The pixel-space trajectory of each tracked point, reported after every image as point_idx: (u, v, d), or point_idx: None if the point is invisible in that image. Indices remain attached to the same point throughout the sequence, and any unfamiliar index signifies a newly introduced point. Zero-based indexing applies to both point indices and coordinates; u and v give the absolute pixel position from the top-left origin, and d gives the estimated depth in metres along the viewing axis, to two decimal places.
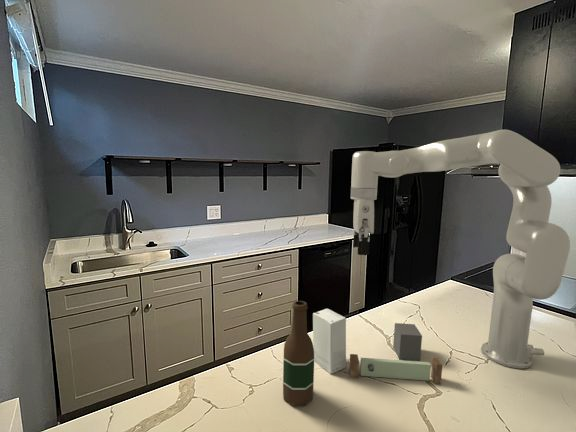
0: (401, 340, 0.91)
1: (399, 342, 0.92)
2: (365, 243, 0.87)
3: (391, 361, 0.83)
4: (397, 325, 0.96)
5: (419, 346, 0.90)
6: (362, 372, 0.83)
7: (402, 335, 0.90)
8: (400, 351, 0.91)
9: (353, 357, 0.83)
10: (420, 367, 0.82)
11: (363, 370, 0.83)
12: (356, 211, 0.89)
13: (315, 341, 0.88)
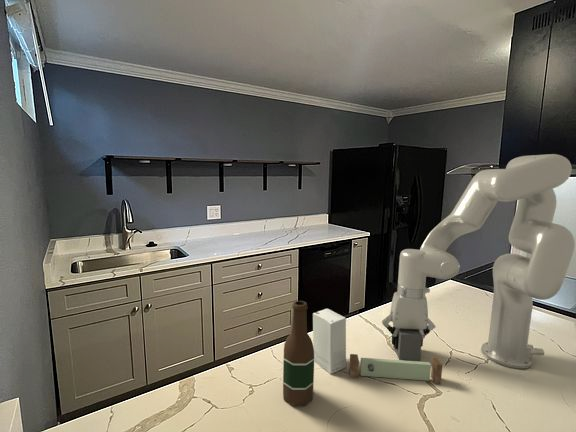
0: (401, 340, 0.90)
1: (399, 342, 0.92)
2: None
3: (391, 361, 0.83)
4: None
5: (419, 346, 0.90)
6: (362, 372, 0.83)
7: (402, 335, 0.90)
8: (400, 351, 0.91)
9: (353, 357, 0.83)
10: (420, 367, 0.82)
11: (363, 370, 0.83)
12: (423, 310, 0.90)
13: (315, 341, 0.88)
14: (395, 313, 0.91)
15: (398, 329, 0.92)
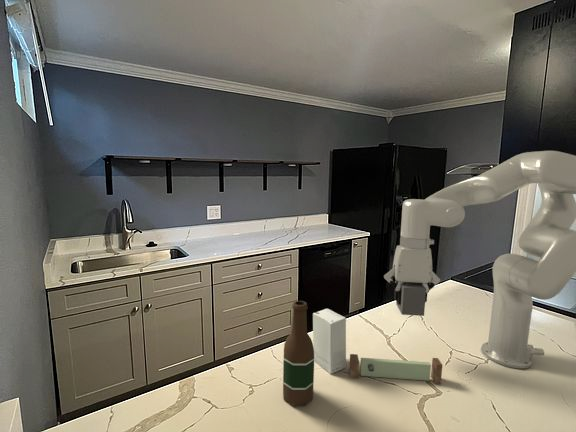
0: (404, 293, 0.86)
1: (402, 296, 0.87)
2: None
3: (391, 361, 0.83)
4: None
5: (423, 300, 0.86)
6: (362, 372, 0.83)
7: (405, 288, 0.86)
8: (403, 305, 0.87)
9: (353, 357, 0.83)
10: (420, 367, 0.82)
11: (363, 370, 0.83)
12: (427, 262, 0.86)
13: (315, 341, 0.88)
14: (397, 266, 0.87)
15: (401, 283, 0.88)
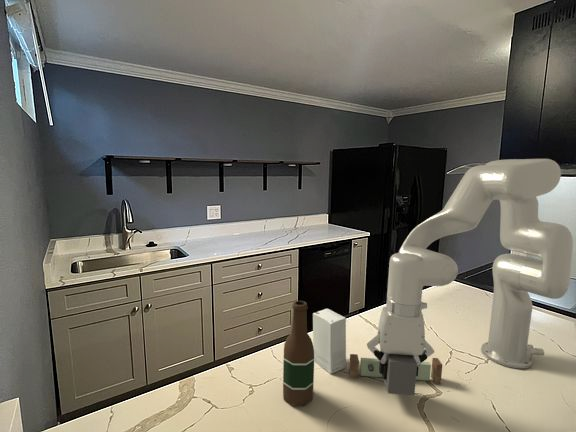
0: (390, 369, 0.71)
1: (388, 371, 0.72)
2: None
3: None
4: None
5: (413, 376, 0.71)
6: (362, 372, 0.83)
7: (392, 362, 0.71)
8: (389, 382, 0.72)
9: (353, 357, 0.83)
10: (420, 367, 0.82)
11: (363, 370, 0.83)
12: (418, 331, 0.70)
13: (315, 341, 0.88)
14: (383, 334, 0.72)
15: (387, 354, 0.73)
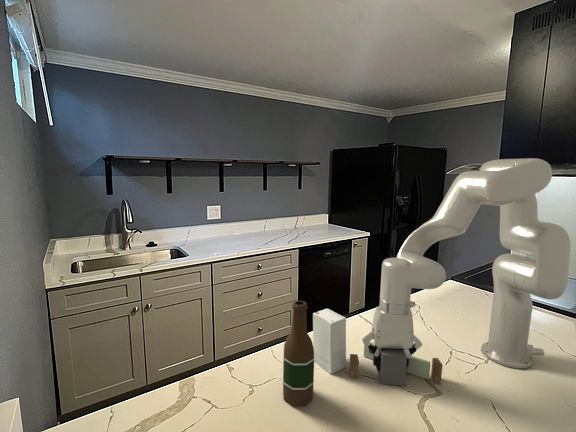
0: (383, 361, 0.80)
1: (381, 363, 0.81)
2: None
3: None
4: None
5: (404, 368, 0.79)
6: (365, 353, 0.92)
7: (384, 355, 0.79)
8: (382, 374, 0.80)
9: (353, 357, 0.83)
10: (418, 363, 0.83)
11: (365, 351, 0.92)
12: (408, 327, 0.80)
13: (315, 341, 0.88)
14: (377, 331, 0.80)
15: (380, 348, 0.82)
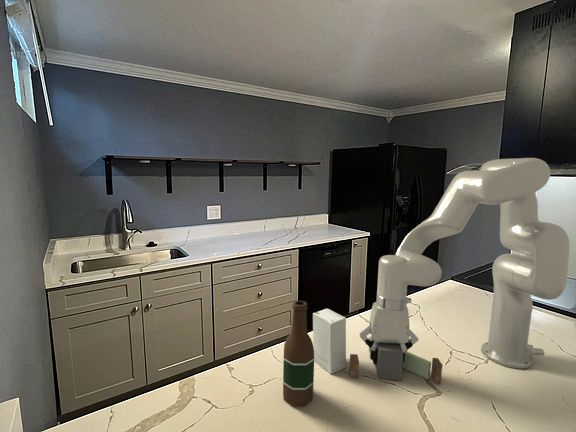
0: (380, 356, 0.82)
1: (378, 358, 0.83)
2: None
3: None
4: None
5: (400, 363, 0.81)
6: (369, 348, 0.95)
7: (381, 350, 0.82)
8: (379, 368, 0.82)
9: (353, 357, 0.83)
10: (419, 362, 0.84)
11: None
12: (404, 322, 0.82)
13: (315, 341, 0.88)
14: (374, 326, 0.83)
15: (377, 343, 0.84)
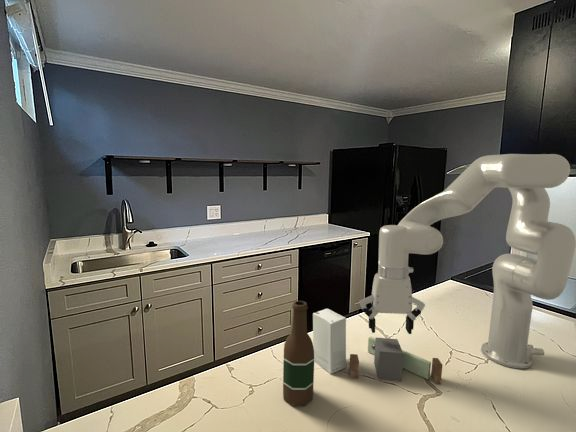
0: (380, 357, 0.82)
1: (378, 359, 0.83)
2: None
3: None
4: (378, 340, 0.87)
5: (400, 364, 0.81)
6: (369, 349, 0.94)
7: (381, 352, 0.81)
8: (379, 369, 0.82)
9: (353, 357, 0.83)
10: (419, 362, 0.84)
11: (369, 347, 0.94)
12: (406, 292, 0.81)
13: (315, 341, 0.88)
14: (376, 296, 0.82)
15: (376, 312, 0.84)
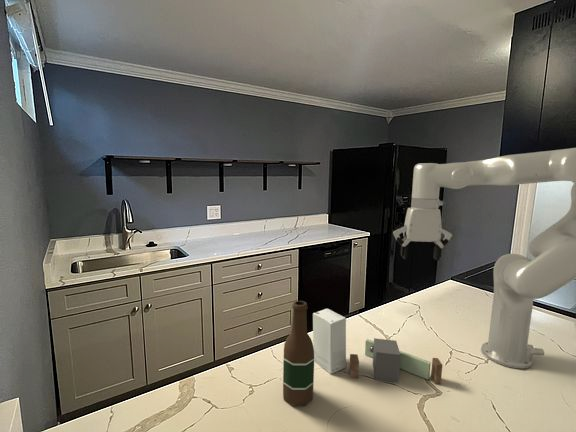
0: (377, 358, 0.81)
1: (375, 360, 0.82)
2: None
3: None
4: (376, 341, 0.86)
5: (397, 366, 0.81)
6: (366, 351, 0.93)
7: (378, 353, 0.81)
8: (376, 370, 0.82)
9: (353, 357, 0.83)
10: (418, 363, 0.83)
11: (366, 349, 0.93)
12: (436, 221, 0.92)
13: (315, 341, 0.88)
14: (409, 225, 0.93)
15: (409, 240, 0.94)
